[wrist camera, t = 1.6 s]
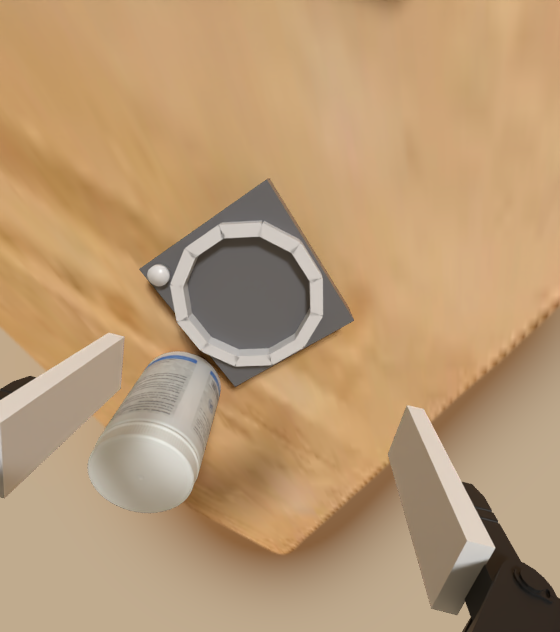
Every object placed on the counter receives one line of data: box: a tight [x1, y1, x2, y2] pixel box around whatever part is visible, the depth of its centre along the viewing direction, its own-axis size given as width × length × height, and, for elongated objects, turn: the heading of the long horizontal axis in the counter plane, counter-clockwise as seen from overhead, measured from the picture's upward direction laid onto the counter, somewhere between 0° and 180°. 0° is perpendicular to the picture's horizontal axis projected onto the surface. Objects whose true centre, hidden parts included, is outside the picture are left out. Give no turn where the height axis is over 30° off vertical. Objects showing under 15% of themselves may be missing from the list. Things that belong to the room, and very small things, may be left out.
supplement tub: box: [88, 351, 221, 513], centre depth 37 cm, size 10×10×15 cm
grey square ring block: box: [139, 179, 354, 387], centre depth 36 cm, size 16×15×6 cm
